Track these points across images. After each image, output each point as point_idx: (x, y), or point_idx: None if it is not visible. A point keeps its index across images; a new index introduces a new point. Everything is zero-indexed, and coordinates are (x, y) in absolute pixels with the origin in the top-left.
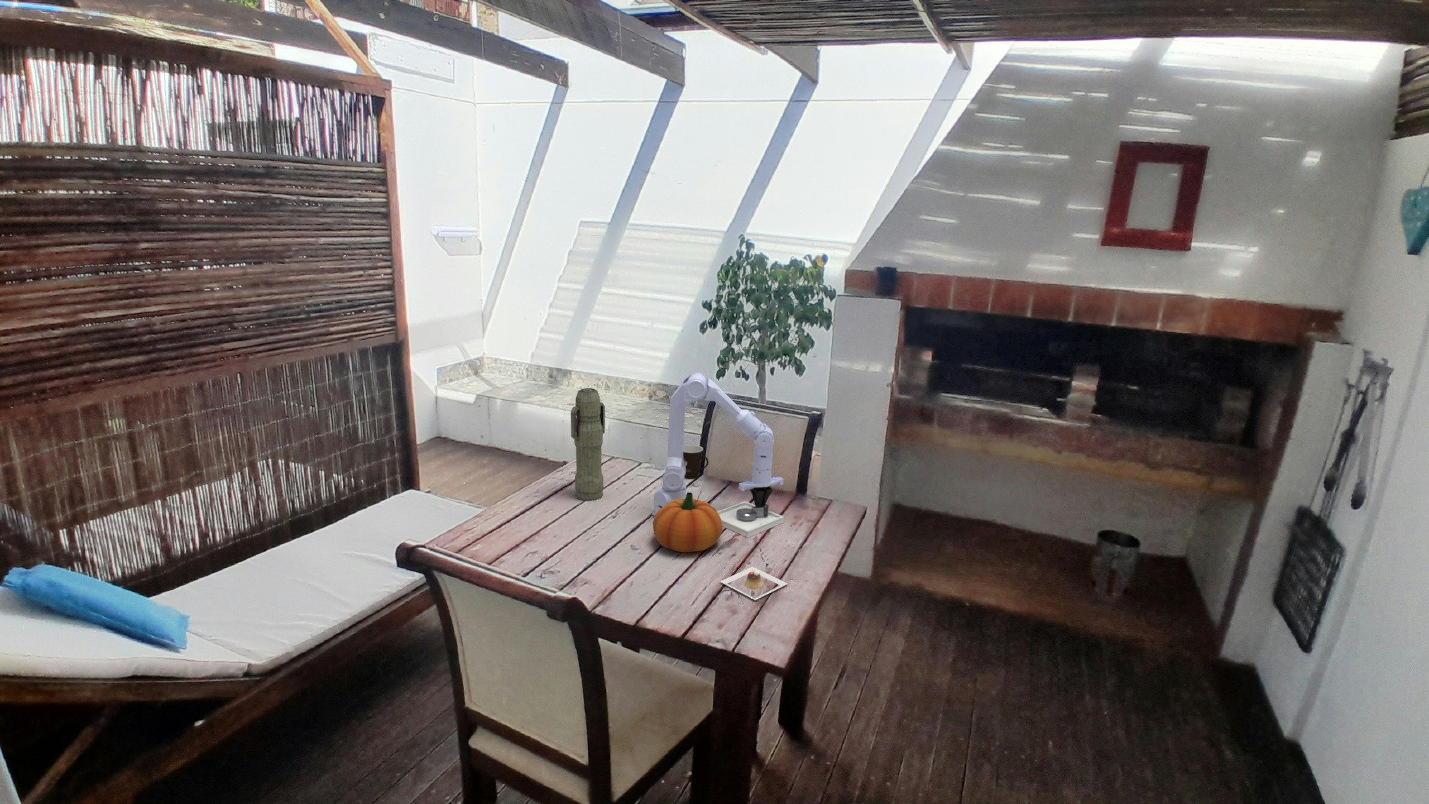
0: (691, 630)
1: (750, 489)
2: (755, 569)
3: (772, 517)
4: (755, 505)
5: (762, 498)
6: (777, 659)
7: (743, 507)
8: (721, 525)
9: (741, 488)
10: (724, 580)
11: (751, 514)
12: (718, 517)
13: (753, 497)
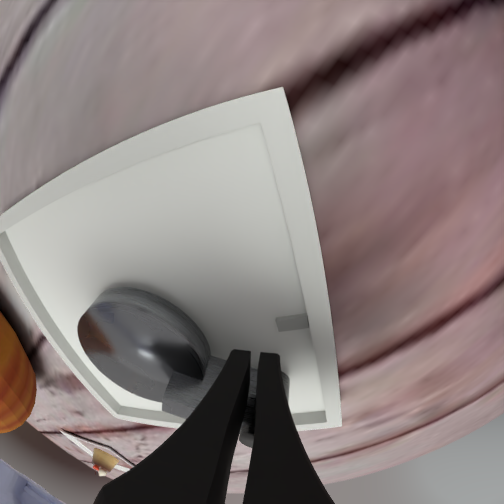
0: (44, 434)
1: (113, 496)
2: (99, 475)
3: (306, 390)
4: (223, 372)
5: (226, 486)
6: (111, 478)
7: (212, 171)
8: (22, 423)
9: (18, 491)
10: (65, 433)
11: (155, 393)
12: (4, 432)
13: (182, 429)
